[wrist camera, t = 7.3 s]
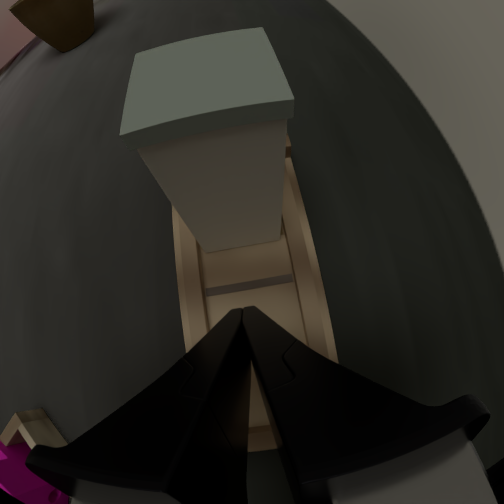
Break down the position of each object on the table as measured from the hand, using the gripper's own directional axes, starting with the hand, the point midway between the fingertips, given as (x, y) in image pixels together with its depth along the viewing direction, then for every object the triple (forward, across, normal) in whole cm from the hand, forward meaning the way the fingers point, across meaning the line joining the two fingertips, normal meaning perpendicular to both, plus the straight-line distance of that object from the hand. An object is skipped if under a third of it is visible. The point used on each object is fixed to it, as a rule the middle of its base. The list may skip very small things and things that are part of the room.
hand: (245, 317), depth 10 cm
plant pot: (+42, -25, +31) cm, 58 cm away
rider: (+11, 0, 0) cm, 11 cm away
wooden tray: (+8, 0, -4) cm, 9 cm away
